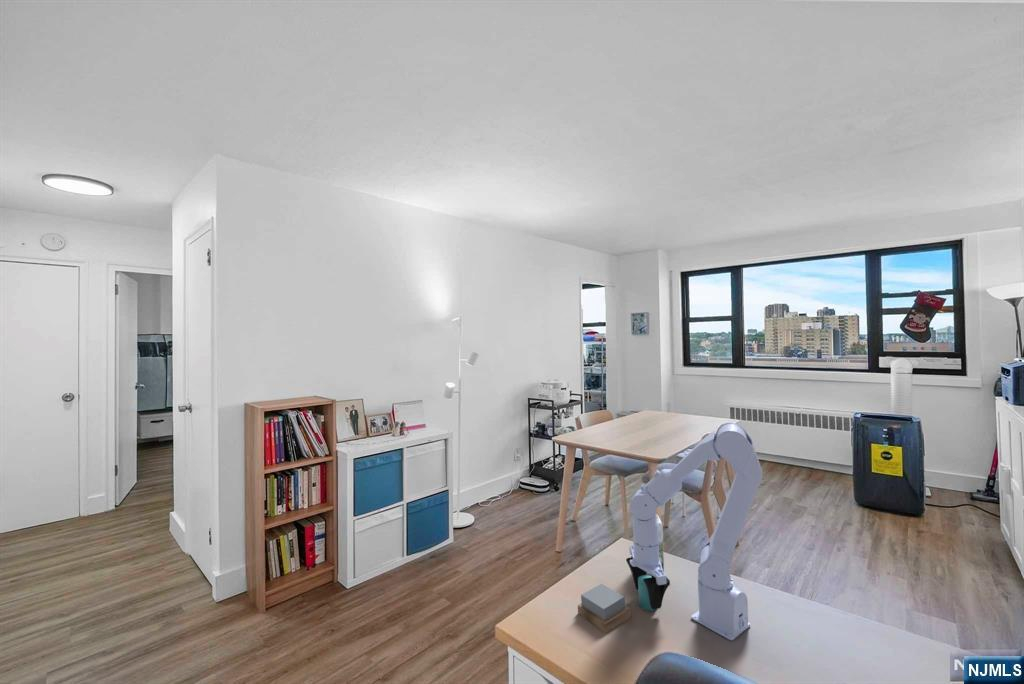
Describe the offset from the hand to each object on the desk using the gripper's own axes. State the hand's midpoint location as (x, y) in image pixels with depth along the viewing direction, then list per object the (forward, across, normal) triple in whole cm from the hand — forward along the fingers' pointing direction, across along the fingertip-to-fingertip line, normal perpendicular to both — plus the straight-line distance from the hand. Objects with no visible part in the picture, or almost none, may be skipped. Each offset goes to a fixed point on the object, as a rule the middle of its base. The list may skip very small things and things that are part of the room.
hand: (648, 598), depth 103 cm
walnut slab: (+2, +1, -12) cm, 12 cm away
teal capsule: (+2, 0, 0) cm, 2 cm away
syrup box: (+2, -14, +8) cm, 16 cm away
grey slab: (0, +1, -12) cm, 12 cm away
